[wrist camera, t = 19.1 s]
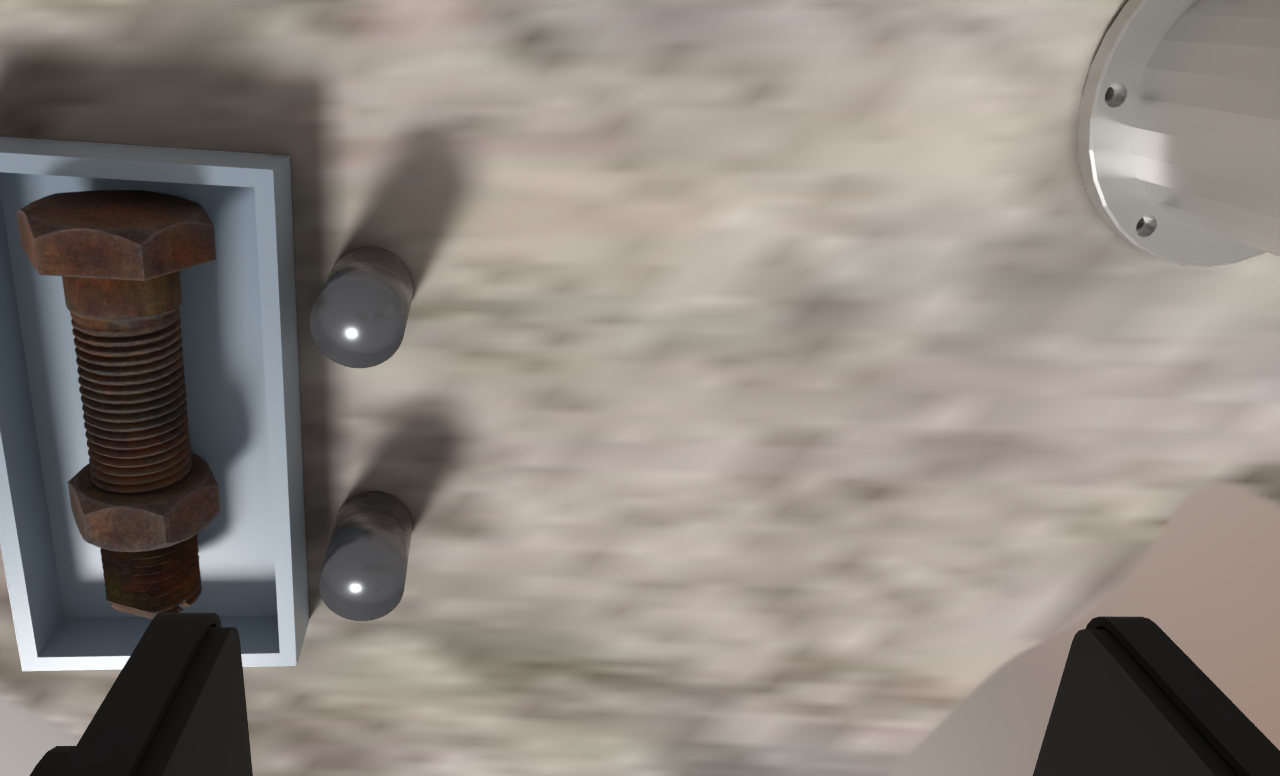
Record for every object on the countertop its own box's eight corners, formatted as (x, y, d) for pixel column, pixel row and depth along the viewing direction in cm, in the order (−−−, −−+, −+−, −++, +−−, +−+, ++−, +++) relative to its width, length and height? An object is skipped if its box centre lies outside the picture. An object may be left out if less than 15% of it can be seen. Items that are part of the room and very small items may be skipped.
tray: (289, 155, 34) (273, 169, 31) (309, 620, 41) (296, 665, 38) (-21, 134, 32) (-68, 148, 29) (54, 623, 39) (22, 671, 36)
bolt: (164, 545, 40) (129, 180, 34) (264, 581, 38) (245, 206, 32) (35, 622, 35) (-32, 208, 29) (145, 667, 33) (98, 241, 27)
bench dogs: (413, 249, 36) (404, 282, 31) (412, 556, 40) (404, 620, 36) (328, 244, 35) (307, 278, 31) (336, 556, 40) (320, 621, 36)
